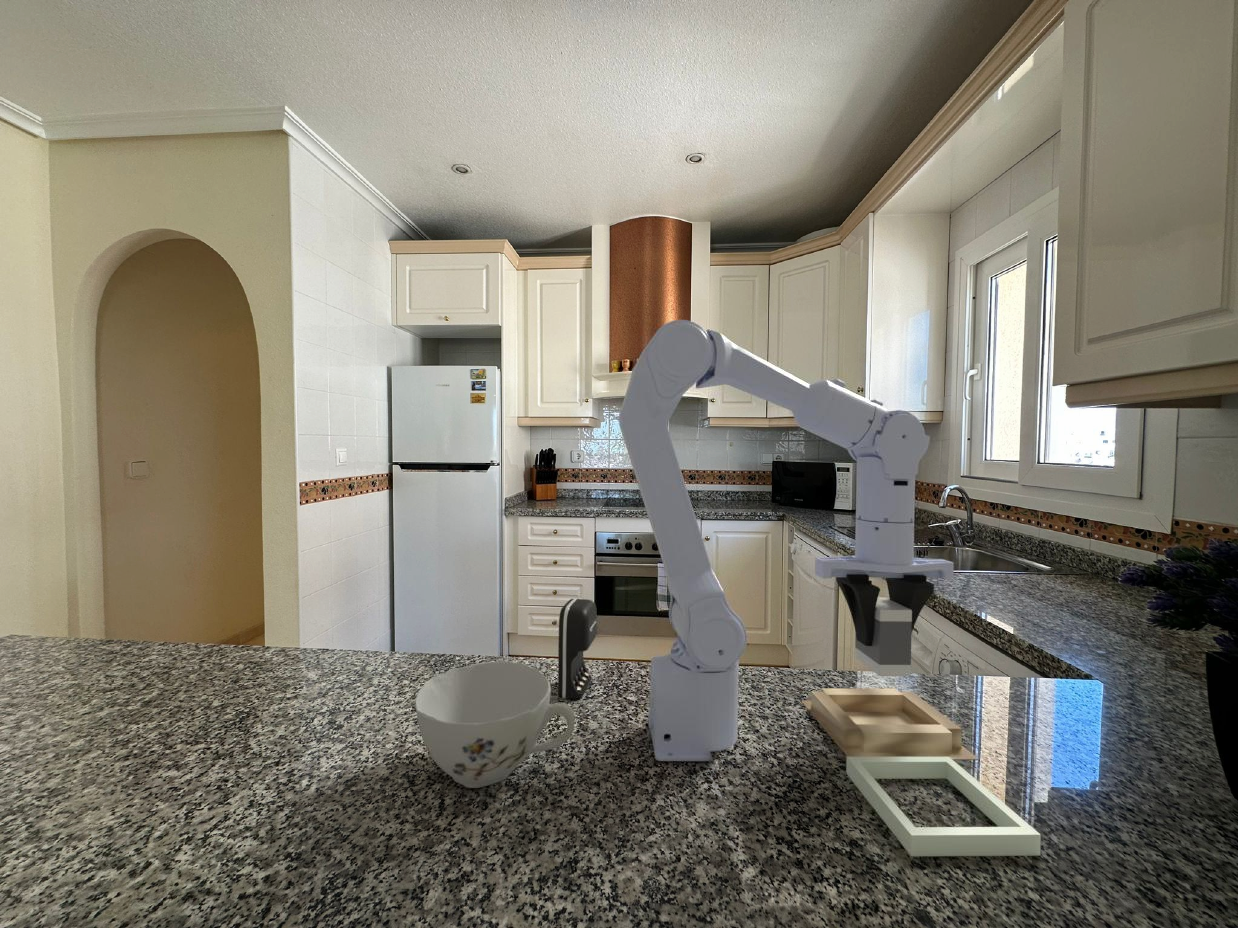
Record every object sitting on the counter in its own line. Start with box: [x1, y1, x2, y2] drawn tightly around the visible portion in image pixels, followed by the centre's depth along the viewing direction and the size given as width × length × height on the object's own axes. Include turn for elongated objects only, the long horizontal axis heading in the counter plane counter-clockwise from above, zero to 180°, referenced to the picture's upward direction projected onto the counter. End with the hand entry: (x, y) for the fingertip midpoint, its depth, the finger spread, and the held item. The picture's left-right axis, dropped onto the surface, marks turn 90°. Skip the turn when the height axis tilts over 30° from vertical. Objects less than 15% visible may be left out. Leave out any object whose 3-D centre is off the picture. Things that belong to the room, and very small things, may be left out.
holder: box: [801, 687, 980, 761], centre depth 55 cm, size 13×12×3 cm
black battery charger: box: [557, 597, 598, 700], centre depth 65 cm, size 7×4×11 cm, turn 171°
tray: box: [845, 756, 1042, 857], centre depth 42 cm, size 10×10×2 cm
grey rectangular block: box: [854, 596, 913, 677], centre depth 55 cm, size 3×5×7 cm
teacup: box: [414, 661, 575, 789], centre depth 47 cm, size 15×12×8 cm
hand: (882, 642), depth 55 cm, fingers closed on grey rectangular block, 3 cm apart
